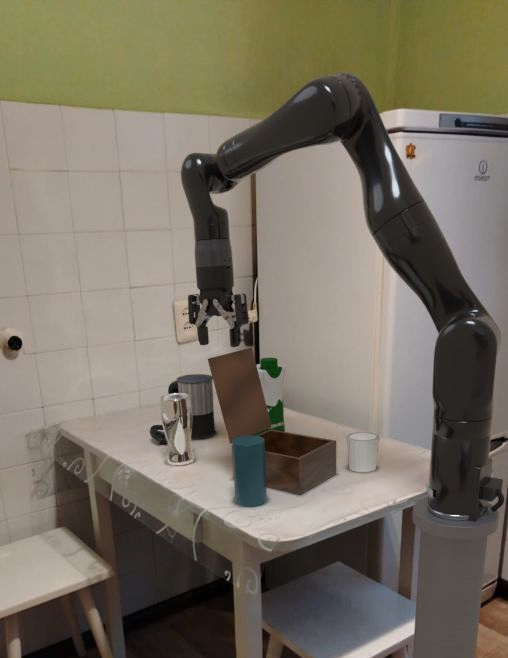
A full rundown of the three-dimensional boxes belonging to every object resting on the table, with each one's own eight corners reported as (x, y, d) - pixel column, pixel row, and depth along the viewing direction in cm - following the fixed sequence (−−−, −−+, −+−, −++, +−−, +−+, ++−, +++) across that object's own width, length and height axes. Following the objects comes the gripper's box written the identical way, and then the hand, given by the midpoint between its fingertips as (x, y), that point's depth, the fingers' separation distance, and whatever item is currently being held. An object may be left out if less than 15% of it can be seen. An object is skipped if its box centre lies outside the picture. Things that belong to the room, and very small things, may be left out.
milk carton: (264, 447, 152) (261, 363, 145) (239, 439, 159) (236, 358, 152) (290, 439, 157) (289, 357, 150) (266, 432, 164) (263, 353, 157)
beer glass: (188, 467, 142) (183, 400, 136) (160, 464, 144) (153, 399, 139) (200, 456, 148) (195, 393, 142) (172, 455, 150) (167, 392, 145)
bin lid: (251, 347, 137) (249, 348, 137) (210, 358, 127) (207, 358, 128) (271, 427, 140) (269, 427, 141) (232, 443, 130) (229, 443, 131)
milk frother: (222, 430, 167) (219, 374, 162) (194, 449, 154) (189, 388, 148) (175, 427, 173) (170, 372, 167) (143, 444, 159) (137, 385, 154)
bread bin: (336, 474, 133) (336, 440, 130) (300, 495, 123) (299, 459, 121) (271, 460, 143) (270, 429, 140) (233, 479, 133) (231, 445, 131)
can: (272, 498, 122) (270, 438, 118) (253, 509, 118) (251, 447, 114) (248, 492, 126) (245, 433, 122) (228, 502, 122) (225, 442, 117)
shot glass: (339, 466, 137) (339, 435, 135) (365, 460, 140) (366, 429, 138) (359, 475, 132) (360, 443, 129) (385, 469, 134) (386, 437, 132)
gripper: (175, 266, 130) (182, 347, 136) (229, 263, 121) (234, 349, 127) (200, 264, 136) (206, 342, 141) (253, 261, 127) (257, 344, 132)
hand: (219, 345), depth 134 cm, fingers open, 8 cm apart
